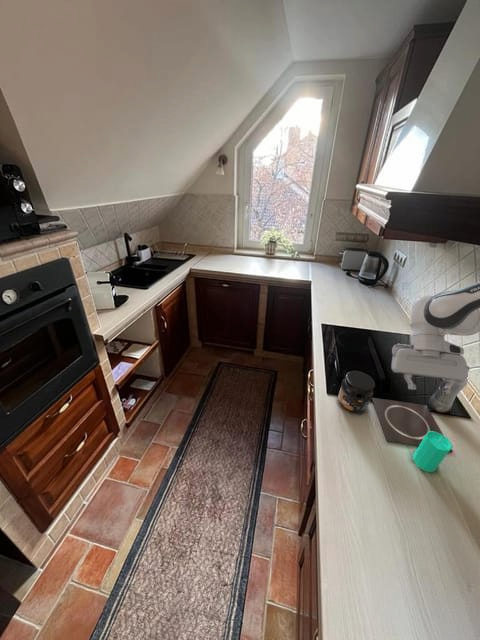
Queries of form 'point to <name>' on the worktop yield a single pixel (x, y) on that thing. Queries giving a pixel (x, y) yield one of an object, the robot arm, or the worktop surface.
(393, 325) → the worktop surface
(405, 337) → the worktop surface
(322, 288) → the worktop surface
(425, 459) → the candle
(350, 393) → the supplement container
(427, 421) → the brown square pad
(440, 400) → the plastic bottle
